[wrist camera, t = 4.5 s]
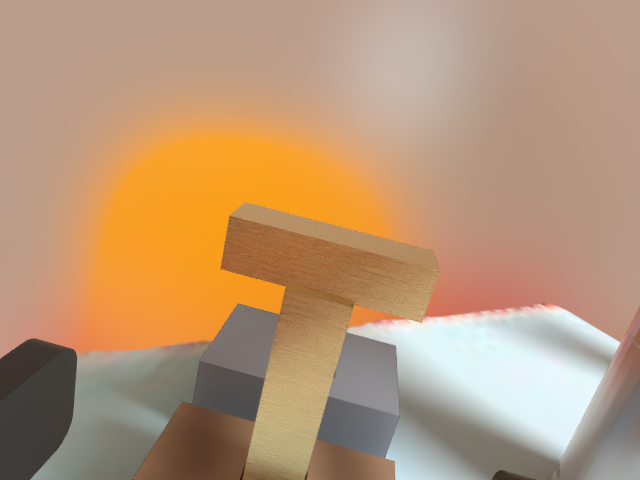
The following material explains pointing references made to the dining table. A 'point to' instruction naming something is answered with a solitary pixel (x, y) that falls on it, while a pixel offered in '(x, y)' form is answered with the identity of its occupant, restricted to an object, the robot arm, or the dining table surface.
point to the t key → (315, 317)
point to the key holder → (344, 396)
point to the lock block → (241, 452)
